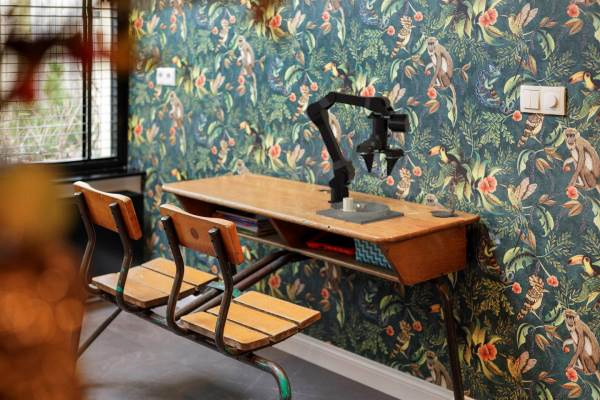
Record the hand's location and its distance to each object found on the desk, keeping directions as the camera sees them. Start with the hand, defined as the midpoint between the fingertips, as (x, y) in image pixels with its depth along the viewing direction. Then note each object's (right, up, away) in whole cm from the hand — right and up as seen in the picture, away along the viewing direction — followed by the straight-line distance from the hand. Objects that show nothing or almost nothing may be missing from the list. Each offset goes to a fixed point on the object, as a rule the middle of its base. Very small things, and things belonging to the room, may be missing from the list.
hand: (378, 174), depth 291 cm
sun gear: (-8, -15, -13) cm, 21 cm away
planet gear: (-12, -14, -17) cm, 25 cm away
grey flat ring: (-8, -15, -13) cm, 21 cm away
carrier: (-8, -15, -13) cm, 21 cm away
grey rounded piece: (+22, -15, -12) cm, 29 cm away
